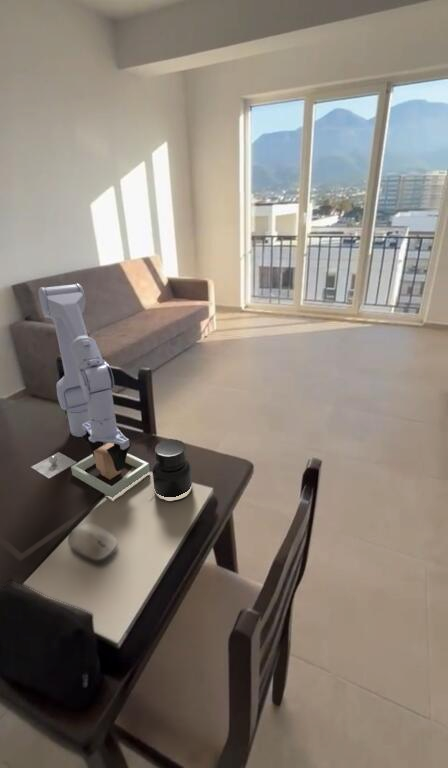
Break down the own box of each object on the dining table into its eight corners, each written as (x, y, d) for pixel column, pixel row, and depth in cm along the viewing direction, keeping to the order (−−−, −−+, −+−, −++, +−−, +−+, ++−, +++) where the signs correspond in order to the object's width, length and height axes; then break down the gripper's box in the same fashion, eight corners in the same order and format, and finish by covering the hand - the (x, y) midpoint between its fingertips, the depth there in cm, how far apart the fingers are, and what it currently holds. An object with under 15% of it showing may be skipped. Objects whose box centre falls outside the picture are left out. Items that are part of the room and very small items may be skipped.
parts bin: (110, 455, 105) (109, 444, 103) (150, 474, 97) (148, 463, 96) (73, 478, 96) (70, 466, 95) (113, 501, 88) (111, 489, 87)
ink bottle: (192, 475, 97) (189, 434, 92) (195, 499, 89) (193, 456, 84) (152, 480, 95) (148, 439, 90) (152, 505, 87) (147, 461, 82)
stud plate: (59, 455, 105) (57, 444, 104) (77, 465, 101) (75, 454, 99) (31, 470, 99) (28, 458, 98) (49, 481, 95) (46, 470, 94)
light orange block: (98, 477, 95) (93, 451, 92) (115, 466, 99) (111, 441, 96) (107, 482, 94) (102, 455, 90) (123, 471, 97) (120, 445, 94)
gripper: (67, 413, 90) (77, 461, 96) (109, 432, 83) (116, 483, 88) (92, 401, 95) (100, 448, 101) (133, 418, 88) (139, 467, 93)
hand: (109, 463), depth 95 cm, fingers open, 7 cm apart
